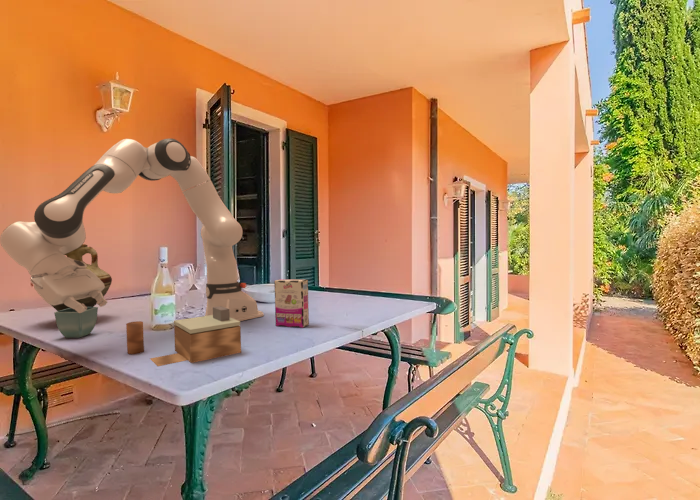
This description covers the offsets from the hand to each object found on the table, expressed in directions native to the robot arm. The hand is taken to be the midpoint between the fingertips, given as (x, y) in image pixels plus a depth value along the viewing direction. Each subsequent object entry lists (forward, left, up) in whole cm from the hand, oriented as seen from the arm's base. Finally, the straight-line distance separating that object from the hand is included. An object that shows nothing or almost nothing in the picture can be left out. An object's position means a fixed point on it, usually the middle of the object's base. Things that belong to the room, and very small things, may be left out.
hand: (94, 307), depth 106 cm
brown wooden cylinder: (-8, +6, -13) cm, 17 cm away
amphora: (0, -57, -14) cm, 58 cm away
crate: (-20, +19, -13) cm, 31 cm away
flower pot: (+2, -31, -14) cm, 34 cm away
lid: (-23, +19, -5) cm, 31 cm away
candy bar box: (-58, +5, -14) cm, 60 cm away
